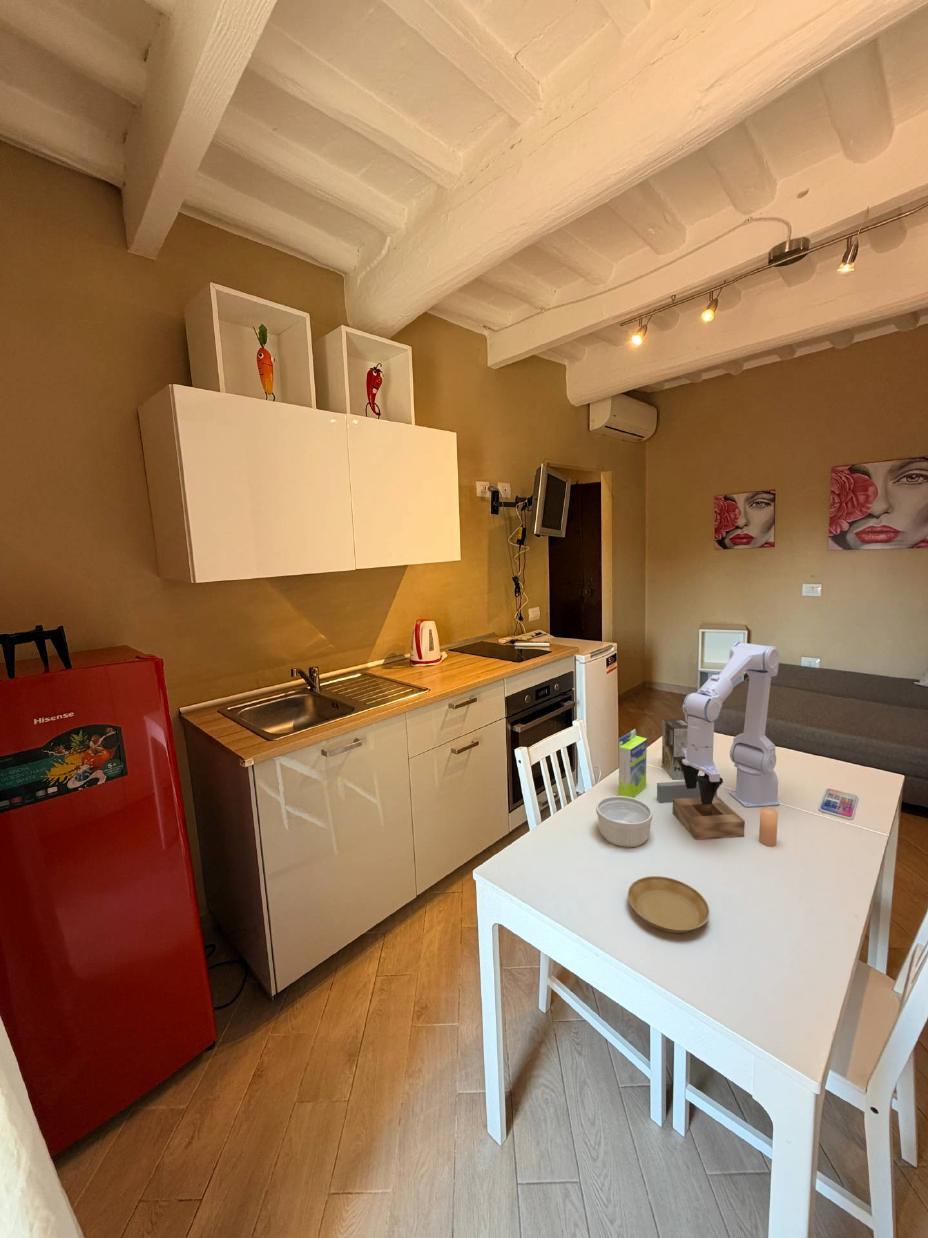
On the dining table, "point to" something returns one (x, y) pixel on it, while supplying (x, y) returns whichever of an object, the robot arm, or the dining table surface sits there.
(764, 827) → the dowel
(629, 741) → the box
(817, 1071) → the dining table surface
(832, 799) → the smartphone
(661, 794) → the wall
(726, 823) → the socket block
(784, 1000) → the dining table surface
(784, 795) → the dining table surface
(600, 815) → the ramekin
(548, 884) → the dining table surface
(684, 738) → the coffee box
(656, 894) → the plant saucer
